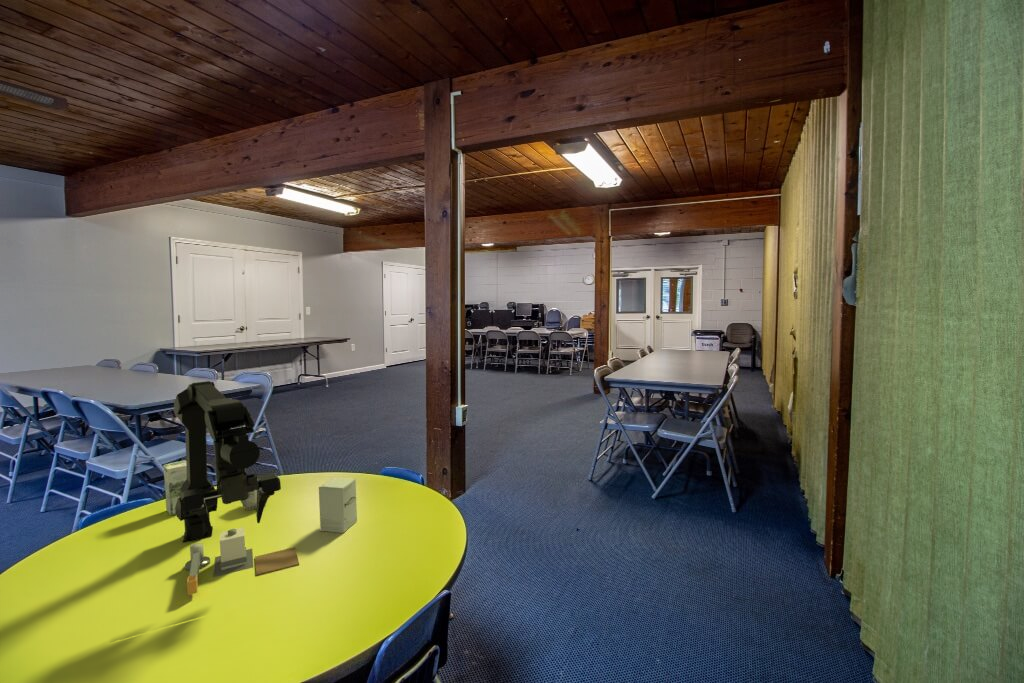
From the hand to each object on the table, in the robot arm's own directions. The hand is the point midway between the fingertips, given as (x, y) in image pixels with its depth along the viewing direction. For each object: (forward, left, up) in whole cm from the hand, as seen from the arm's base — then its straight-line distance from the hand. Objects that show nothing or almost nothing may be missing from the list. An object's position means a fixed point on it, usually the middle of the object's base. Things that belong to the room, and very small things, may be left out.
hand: (235, 528), depth 107 cm
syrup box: (-53, -15, -13) cm, 56 cm away
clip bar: (-6, -8, -11) cm, 15 cm away
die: (-44, +5, -13) cm, 46 cm away
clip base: (-13, -8, -13) cm, 20 cm away
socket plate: (-10, -1, -13) cm, 16 cm away
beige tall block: (-10, -1, -12) cm, 16 cm away
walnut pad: (-5, +8, -13) cm, 16 cm away
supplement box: (-17, +25, -13) cm, 32 cm away
